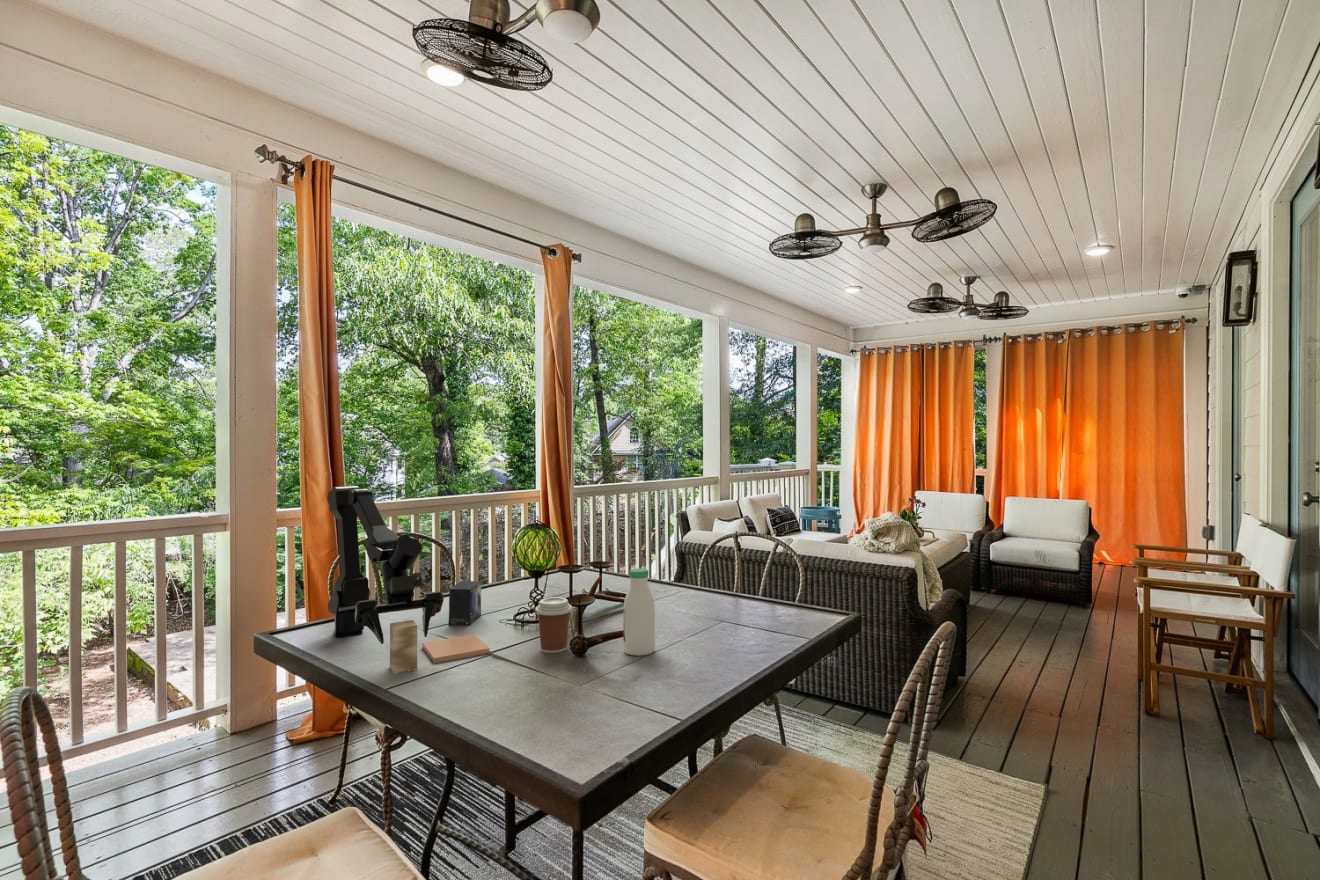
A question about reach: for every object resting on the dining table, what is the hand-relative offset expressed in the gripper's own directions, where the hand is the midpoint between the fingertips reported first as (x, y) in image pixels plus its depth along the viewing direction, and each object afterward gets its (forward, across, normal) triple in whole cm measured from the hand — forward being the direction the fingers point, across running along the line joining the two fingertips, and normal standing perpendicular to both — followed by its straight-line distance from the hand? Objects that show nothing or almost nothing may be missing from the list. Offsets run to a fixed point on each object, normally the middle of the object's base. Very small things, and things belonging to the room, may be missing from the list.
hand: (404, 639), depth 139 cm
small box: (-18, +22, +28) cm, 40 cm away
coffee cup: (+8, +34, +2) cm, 35 cm away
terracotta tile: (0, +13, +10) cm, 16 cm away
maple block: (+4, 0, +6) cm, 7 cm away
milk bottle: (+18, +51, -8) cm, 54 cm away
